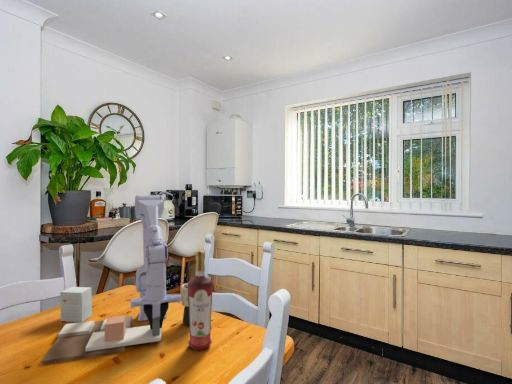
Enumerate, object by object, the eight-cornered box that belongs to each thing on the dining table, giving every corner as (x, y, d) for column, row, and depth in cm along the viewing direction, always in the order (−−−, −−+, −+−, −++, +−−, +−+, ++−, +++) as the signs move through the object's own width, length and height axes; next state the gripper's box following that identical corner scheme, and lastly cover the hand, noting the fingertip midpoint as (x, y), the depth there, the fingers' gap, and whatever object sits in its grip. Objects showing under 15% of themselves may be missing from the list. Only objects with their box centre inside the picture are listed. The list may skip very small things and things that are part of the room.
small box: (92, 315, 107) (92, 287, 106) (81, 322, 101) (81, 292, 101) (71, 314, 107) (71, 286, 107) (60, 321, 102) (60, 291, 102)
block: (125, 331, 91) (125, 315, 90) (123, 339, 86) (123, 322, 86) (108, 333, 89) (107, 317, 89) (104, 341, 84) (104, 324, 84)
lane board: (132, 320, 103) (132, 314, 103) (124, 352, 83) (124, 345, 83) (67, 328, 97) (67, 322, 97) (41, 364, 77) (41, 357, 77)
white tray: (161, 326, 96) (161, 311, 95) (161, 340, 87) (161, 323, 87) (93, 335, 90) (92, 319, 90) (85, 351, 81) (85, 333, 81)
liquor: (188, 354, 82) (187, 255, 81) (186, 341, 89) (186, 249, 89) (214, 351, 84) (214, 253, 83) (211, 338, 91) (211, 248, 90)
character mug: (193, 331, 95) (193, 291, 95) (174, 328, 97) (174, 289, 97) (208, 317, 106) (208, 281, 105) (190, 314, 108) (190, 279, 107)
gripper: (129, 290, 85) (129, 337, 85) (181, 285, 89) (181, 330, 89) (132, 282, 91) (132, 326, 92) (179, 278, 96) (179, 319, 96)
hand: (156, 327), depth 91 cm, fingers closed on white tray, 2 cm apart
